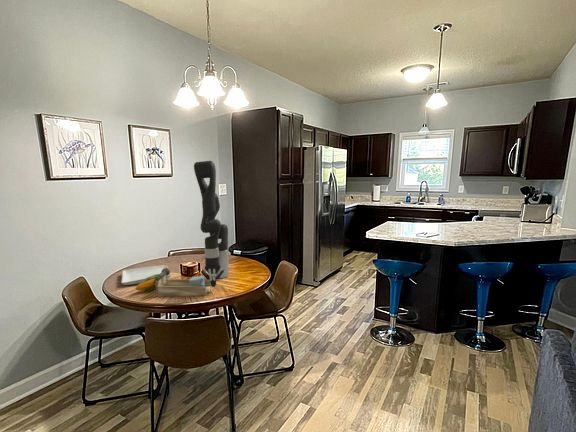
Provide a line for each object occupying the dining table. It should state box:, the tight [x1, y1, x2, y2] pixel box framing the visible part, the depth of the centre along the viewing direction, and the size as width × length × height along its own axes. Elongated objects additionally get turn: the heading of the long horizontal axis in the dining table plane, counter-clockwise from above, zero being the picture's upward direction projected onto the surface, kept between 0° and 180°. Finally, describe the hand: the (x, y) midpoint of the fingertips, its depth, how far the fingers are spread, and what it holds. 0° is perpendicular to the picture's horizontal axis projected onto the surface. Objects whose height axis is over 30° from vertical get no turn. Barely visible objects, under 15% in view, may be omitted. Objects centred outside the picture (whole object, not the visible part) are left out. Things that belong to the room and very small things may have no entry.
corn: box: [135, 274, 159, 293], centre depth 173 cm, size 7×8×20 cm
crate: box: [189, 275, 206, 286], centre depth 168 cm, size 7×7×6 cm
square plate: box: [120, 264, 172, 286], centre depth 194 cm, size 27×27×4 cm
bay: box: [155, 267, 212, 297], centre depth 169 cm, size 13×28×11 cm, turn 91°
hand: (213, 286), depth 169 cm, fingers closed
